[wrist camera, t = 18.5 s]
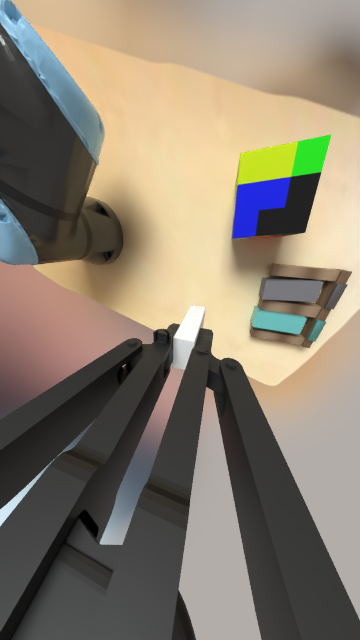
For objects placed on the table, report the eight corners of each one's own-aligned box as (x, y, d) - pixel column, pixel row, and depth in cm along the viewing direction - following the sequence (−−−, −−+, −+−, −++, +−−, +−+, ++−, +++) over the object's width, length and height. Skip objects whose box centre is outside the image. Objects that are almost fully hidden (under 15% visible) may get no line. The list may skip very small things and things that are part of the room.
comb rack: (249, 331, 41) (251, 338, 38) (271, 263, 33) (276, 265, 30) (303, 341, 38) (310, 349, 35) (341, 269, 30) (354, 272, 27)
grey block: (258, 294, 37) (262, 299, 33) (262, 277, 35) (266, 281, 31) (306, 296, 34) (316, 302, 31) (313, 278, 32) (323, 282, 29)
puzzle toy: (231, 239, 33) (233, 237, 25) (236, 180, 29) (240, 153, 20) (282, 236, 31) (305, 232, 22) (296, 171, 26) (331, 134, 18)
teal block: (250, 319, 40) (252, 326, 36) (254, 305, 38) (257, 311, 35) (292, 326, 38) (299, 334, 34) (299, 311, 36) (306, 318, 33)
